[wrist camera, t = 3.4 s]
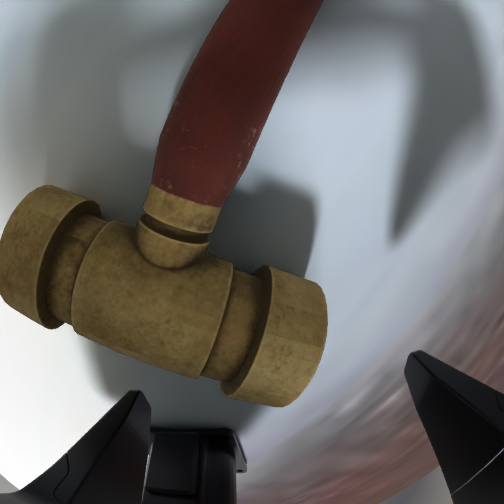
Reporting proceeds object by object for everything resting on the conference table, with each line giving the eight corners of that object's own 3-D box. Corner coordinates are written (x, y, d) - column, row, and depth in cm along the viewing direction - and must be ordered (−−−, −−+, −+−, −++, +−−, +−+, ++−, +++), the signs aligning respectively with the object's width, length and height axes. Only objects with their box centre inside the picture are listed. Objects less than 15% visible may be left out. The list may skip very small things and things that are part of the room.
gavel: (239, -142, 1) (461, -53, 2) (235, -90, 5) (413, -20, 7) (-2, 328, 6) (275, 433, 8) (57, 277, 10) (262, 353, 12)
